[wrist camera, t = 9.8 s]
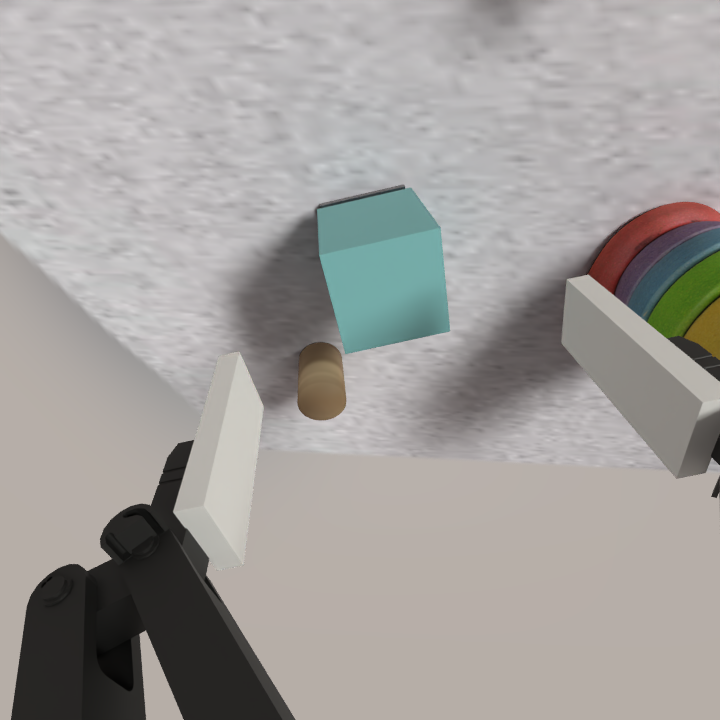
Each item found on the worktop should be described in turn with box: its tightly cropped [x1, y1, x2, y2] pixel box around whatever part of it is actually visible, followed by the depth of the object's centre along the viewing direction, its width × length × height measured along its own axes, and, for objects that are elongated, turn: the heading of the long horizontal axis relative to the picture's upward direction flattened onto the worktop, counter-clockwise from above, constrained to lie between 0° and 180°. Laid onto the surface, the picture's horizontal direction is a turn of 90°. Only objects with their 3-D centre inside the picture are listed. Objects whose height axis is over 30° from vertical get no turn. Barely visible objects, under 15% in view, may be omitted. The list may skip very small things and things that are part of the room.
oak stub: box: [297, 342, 346, 420], centre depth 29 cm, size 3×3×4 cm
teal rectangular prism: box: [317, 188, 450, 354], centre depth 23 cm, size 5×5×7 cm
